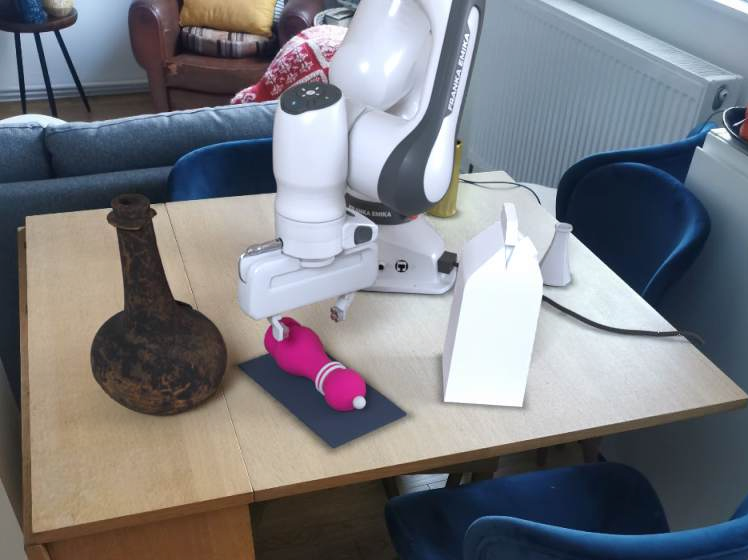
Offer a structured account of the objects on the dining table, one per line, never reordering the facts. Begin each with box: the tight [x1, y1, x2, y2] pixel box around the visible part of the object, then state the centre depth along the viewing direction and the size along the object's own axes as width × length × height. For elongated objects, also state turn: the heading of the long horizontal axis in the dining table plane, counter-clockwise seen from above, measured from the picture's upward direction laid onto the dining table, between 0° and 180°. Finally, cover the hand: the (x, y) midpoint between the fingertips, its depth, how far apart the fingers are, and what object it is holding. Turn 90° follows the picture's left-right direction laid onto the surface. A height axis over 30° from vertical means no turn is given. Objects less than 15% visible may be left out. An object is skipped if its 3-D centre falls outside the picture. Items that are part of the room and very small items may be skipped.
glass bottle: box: [89, 193, 228, 417], centre depth 98 cm, size 18×18×28 cm
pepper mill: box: [263, 316, 366, 412], centre depth 108 cm, size 7×7×20 cm
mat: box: [237, 351, 407, 449], centre depth 111 cm, size 24×13×1 cm, turn 39°
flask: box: [538, 222, 574, 287], centre depth 138 cm, size 7×7×10 cm
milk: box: [441, 202, 544, 408], centre depth 106 cm, size 12×12×26 cm
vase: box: [427, 138, 464, 218], centre depth 156 cm, size 6×6×14 cm
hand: (310, 328), depth 104 cm, fingers open, 8 cm apart
